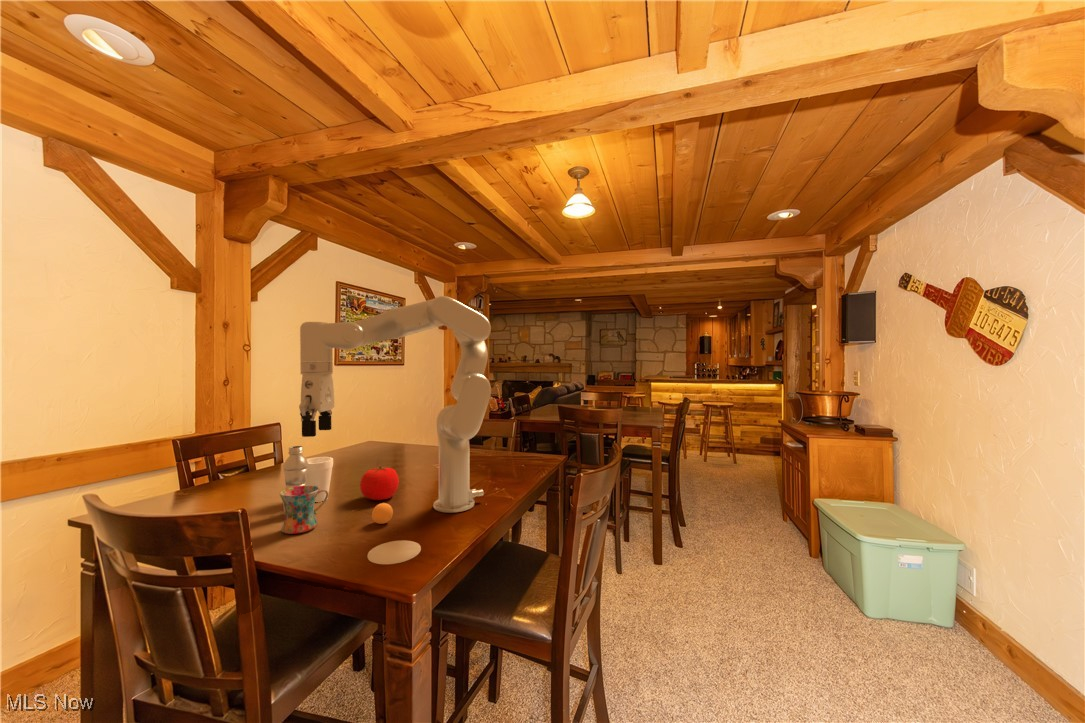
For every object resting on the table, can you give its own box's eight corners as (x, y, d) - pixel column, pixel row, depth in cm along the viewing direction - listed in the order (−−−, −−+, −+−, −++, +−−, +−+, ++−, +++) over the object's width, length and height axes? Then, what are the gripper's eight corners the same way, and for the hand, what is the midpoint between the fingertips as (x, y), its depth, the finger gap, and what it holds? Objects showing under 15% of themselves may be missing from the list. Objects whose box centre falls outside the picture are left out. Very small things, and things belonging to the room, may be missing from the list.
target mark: (411, 537, 107) (411, 536, 107) (428, 554, 97) (428, 553, 97) (361, 549, 100) (361, 548, 100) (374, 569, 90) (374, 568, 90)
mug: (287, 540, 106) (287, 498, 106) (274, 530, 111) (274, 491, 111) (335, 525, 115) (335, 487, 115) (320, 517, 121) (320, 481, 121)
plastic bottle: (285, 520, 118) (285, 450, 118) (281, 513, 124) (281, 446, 124) (310, 515, 123) (310, 447, 123) (306, 508, 128) (306, 444, 128)
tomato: (404, 493, 142) (404, 463, 142) (386, 506, 130) (386, 472, 130) (374, 492, 144) (374, 461, 144) (353, 504, 132) (353, 471, 132)
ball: (389, 518, 120) (389, 499, 120) (395, 524, 116) (395, 504, 116) (369, 522, 117) (369, 502, 117) (374, 528, 113) (374, 508, 113)
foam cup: (337, 499, 136) (337, 460, 136) (307, 506, 129) (307, 465, 129) (326, 493, 143) (326, 455, 143) (296, 500, 136) (296, 460, 136)
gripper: (317, 369, 102) (318, 438, 102) (343, 367, 119) (344, 427, 119) (285, 369, 101) (285, 439, 101) (316, 368, 118) (316, 428, 118)
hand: (317, 433), depth 110 cm, fingers open, 9 cm apart
